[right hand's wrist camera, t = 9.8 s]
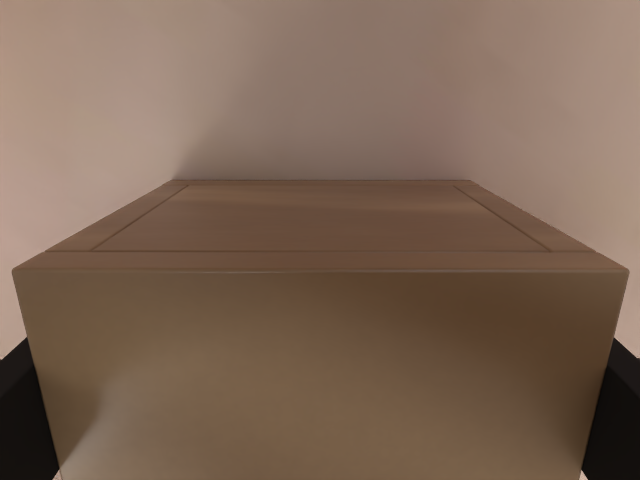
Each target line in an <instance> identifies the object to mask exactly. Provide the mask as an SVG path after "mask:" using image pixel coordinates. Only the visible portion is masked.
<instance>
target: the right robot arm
mask: <svg viewBox="0 0 640 480" xmlns="http://www.w3.org/2000/svg"><path fill="white" fill-rule="evenodd" d="M58 470H59V466H58V462H57V457H56V453H55V449H54V445H53V441H52V437H51V433H50V429H49V424H48V420H47V416H46V412H45V408H44V404H43V400H42V395H41V391H40V387H39V383H38V379H37V375H36V371H35V367H34V362H33V358H32V354H31V350H30V346H29V342H28V338H27V337H26V338H25V339H24V340H23V341H22V342H21V343H20V344H19V345H18V346H17V347H15V348H14V349H13V350H12V351H11V352H10V353H9V354H8V355H7V356H6V357H4V358H3V359H2V360H0V480H52V479H53V478H54V476H55V475H56V473H57V472H58ZM581 470H582V471H583V473H584V474H585V476H586V477H587V479H588V480H640V358H636V357H635V356H634V355H633V354H632V353H631V352H629V351H628V350H627V349H626V348H625V347H624V346H623V345H622V344H621V343H620V342H618V341H617V340H616V339H615V338H613V342H612V346H611V350H610V354H609V358H608V363H607V367H606V371H605V375H604V379H603V383H602V387H601V391H600V395H599V400H598V404H597V408H596V412H595V416H594V420H593V424H592V428H591V432H590V437H589V441H588V445H587V449H586V453H585V457H584V461H583V465H582V469H581Z"/></svg>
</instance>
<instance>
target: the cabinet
mask: <svg viewBox="0 0 640 480" xmlns="http://www.w3.org/2000/svg"><path fill="white" fill-rule="evenodd" d="M12 276H13V280H14V284H15V288H16V292H17V296H18V300H19V305H20V309H21V313H22V317H23V321H24V325H25V329H26V333H27V338H28V342H29V346H30V350H31V354H32V358H33V362H34V367H35V371H36V375H37V379H38V383H39V387H40V391H41V395H42V400H43V404H44V408H45V412H46V416H47V420H48V424H49V429H50V433H51V437H52V441H53V445H54V449H55V453H56V457H57V462H58V466H59V470H60V474H61V478H62V480H579V478H580V474H581V469H582V465H583V461H584V457H585V453H586V449H587V445H588V441H589V437H590V432H591V428H592V424H593V420H594V416H595V412H596V408H597V404H598V400H599V395H600V391H601V387H602V383H603V379H604V375H605V371H606V367H607V363H608V358H609V354H610V350H611V346H612V342H613V338H614V334H615V330H616V326H617V321H618V317H619V313H620V309H621V305H622V301H623V297H624V293H625V289H626V284H627V280H628V276H629V270H628V269H627V268H625V267H623V266H622V265H620V264H618V263H616V262H614V261H613V260H611V259H609V258H607V257H606V256H604V255H602V254H600V253H596V251H595V250H593V249H591V248H589V247H587V246H586V245H584V244H582V243H580V242H579V241H577V240H575V239H573V238H571V237H570V236H568V235H566V234H564V233H562V232H561V231H559V230H557V229H555V228H554V227H552V226H550V225H548V224H546V223H545V222H543V221H541V220H539V219H537V218H536V217H534V216H532V215H530V214H529V213H527V212H525V211H523V210H521V209H520V208H518V207H516V206H514V205H512V204H511V203H509V202H507V201H505V200H504V199H502V198H500V197H498V196H496V195H495V194H493V193H491V192H489V191H488V190H486V189H484V188H482V187H480V186H479V185H478V184H476V183H474V182H472V181H470V180H170V181H169V182H167V183H165V184H163V185H162V186H160V187H158V188H157V189H155V190H153V191H151V192H150V193H148V194H146V195H144V196H142V197H141V198H139V199H137V200H135V201H133V202H132V203H130V204H128V205H126V206H124V207H123V208H121V209H119V210H117V211H115V212H114V213H112V214H110V215H108V216H106V217H105V218H103V219H101V220H99V221H97V222H96V223H94V224H92V225H90V226H89V227H87V228H85V229H83V230H81V231H80V232H78V233H76V234H74V235H72V236H71V237H69V238H67V239H65V240H63V241H62V242H60V243H58V244H56V245H54V246H53V247H51V248H49V249H47V250H45V252H42V253H40V254H38V255H36V256H35V257H33V258H31V259H29V260H28V261H26V262H24V263H22V264H20V265H19V266H17V267H15V268H13V269H12Z"/></svg>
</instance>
